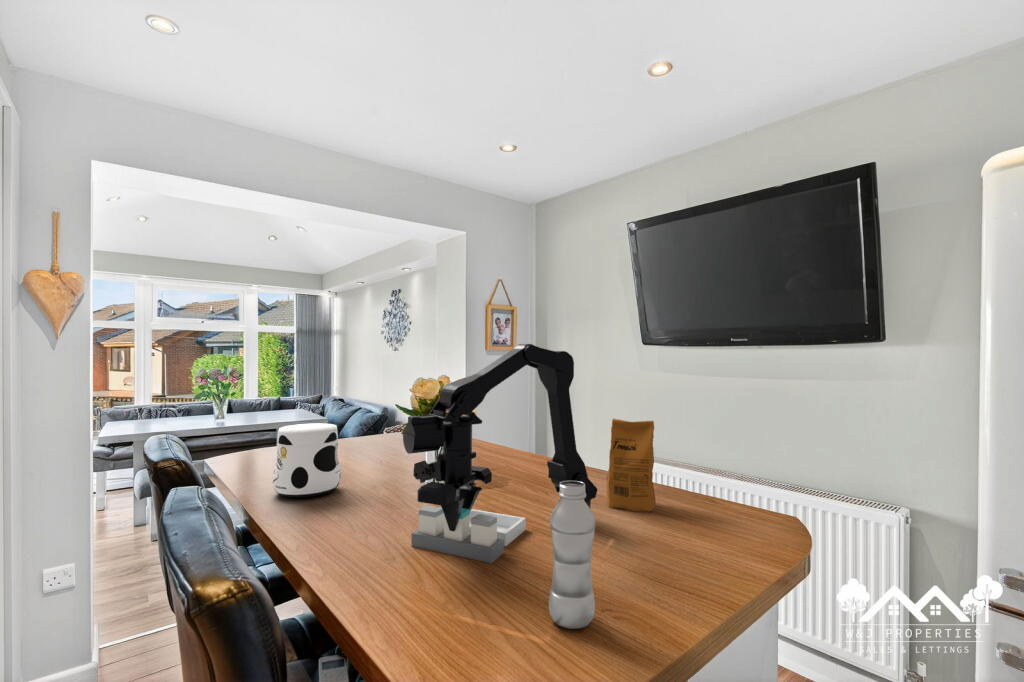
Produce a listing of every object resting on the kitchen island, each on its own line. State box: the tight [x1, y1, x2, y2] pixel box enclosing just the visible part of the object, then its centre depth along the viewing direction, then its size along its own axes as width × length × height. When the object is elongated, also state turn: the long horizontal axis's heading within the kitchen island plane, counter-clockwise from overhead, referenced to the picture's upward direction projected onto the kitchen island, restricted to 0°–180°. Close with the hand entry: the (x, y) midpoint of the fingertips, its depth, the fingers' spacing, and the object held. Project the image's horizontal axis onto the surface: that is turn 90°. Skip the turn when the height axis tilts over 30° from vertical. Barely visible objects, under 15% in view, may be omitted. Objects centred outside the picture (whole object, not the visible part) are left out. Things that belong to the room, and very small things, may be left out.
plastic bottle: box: [548, 481, 596, 630], centre depth 70 cm, size 6×7×20 cm
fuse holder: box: [411, 528, 505, 564], centre depth 94 cm, size 18×5×3 cm, turn 65°
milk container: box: [272, 422, 342, 498], centre depth 133 cm, size 17×17×18 cm
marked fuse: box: [444, 508, 470, 541], centre depth 94 cm, size 4×3×7 cm
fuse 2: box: [471, 514, 497, 547], centre depth 92 cm, size 4×3×7 cm
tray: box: [470, 508, 527, 547], centre depth 104 cm, size 16×10×3 cm, turn 65°
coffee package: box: [606, 417, 657, 512], centre depth 124 cm, size 10×12×22 cm
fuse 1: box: [418, 504, 444, 536], centre depth 97 cm, size 4×3×7 cm
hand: (456, 527), depth 94 cm, fingers closed on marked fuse, 3 cm apart
